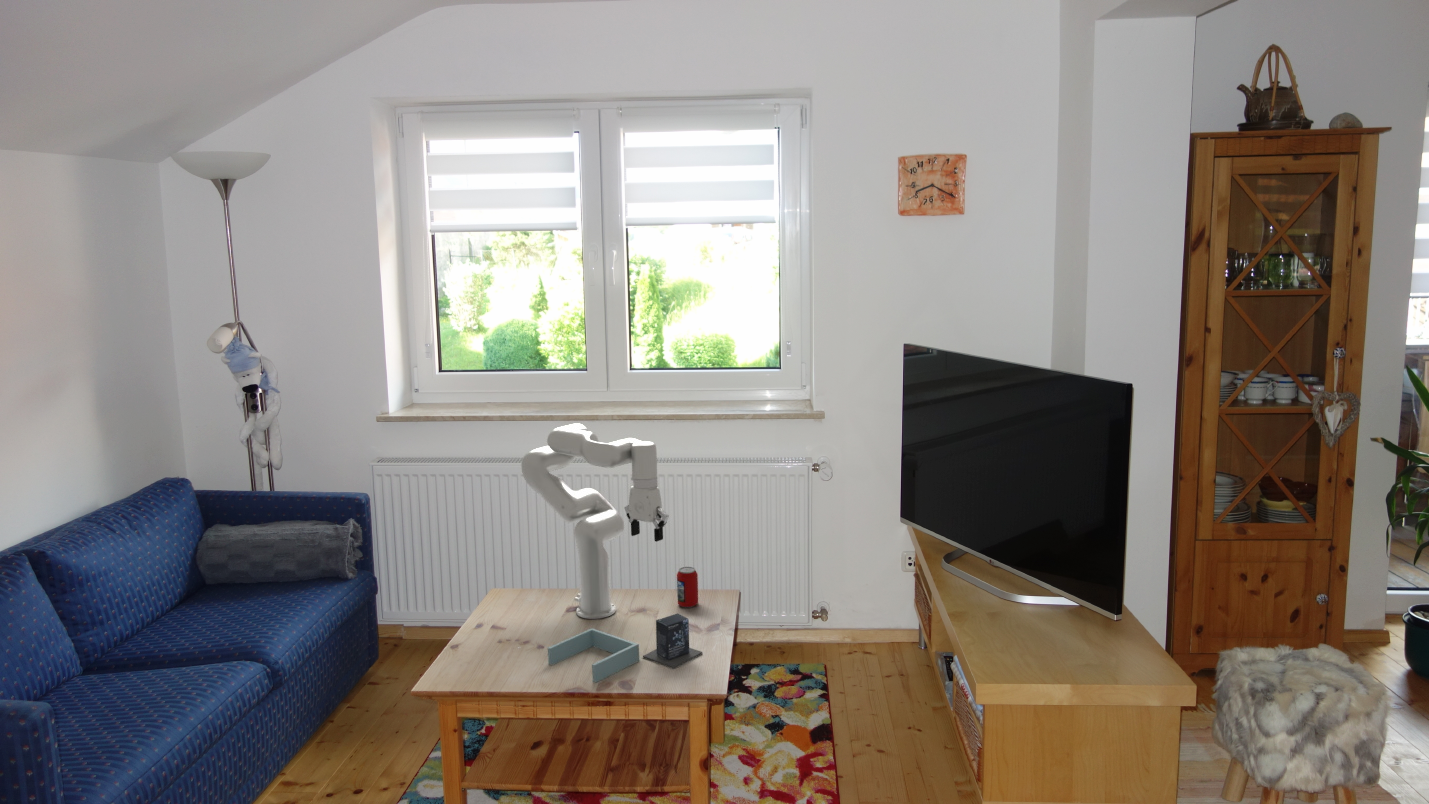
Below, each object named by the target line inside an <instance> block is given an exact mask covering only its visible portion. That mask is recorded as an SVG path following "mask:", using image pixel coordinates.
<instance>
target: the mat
mask: <svg viewBox="0 0 1429 804" xmlns="http://www.w3.org/2000/svg"><path fill="white" fill-rule="evenodd" d="M701 655H703V651H701V650H697V649H695V648H692V647H689V653H688V654H685V655H682V656H679V657H676V658H673V659H670V660H668V661H667V660H665V659H664V658H662V657H660V656H659V655H657V648H656V649H654V650H651V651H650V652H647V653H645V654H644V655H643V656H642V659H645V660H648V661H651V662H653V663H657V664H659V665H662V666H666V667H667V668H668V667H669V668H670V669H677V668H679V667H681V666H682V665H685V664H687V663H689V662H690V661H692V660H693V659H696V658H697V657H699V656H701Z"/></svg>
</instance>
